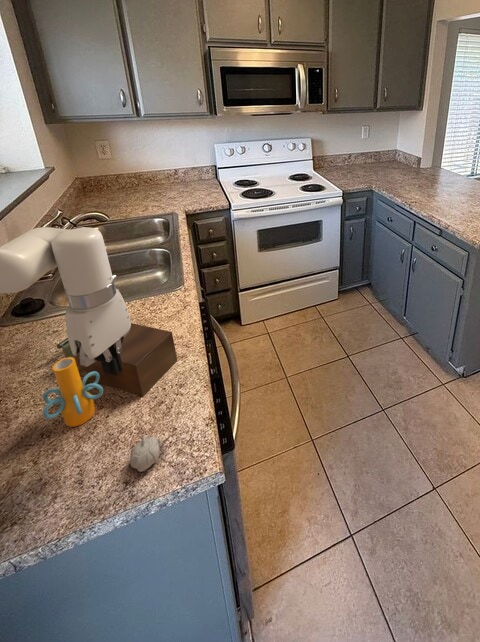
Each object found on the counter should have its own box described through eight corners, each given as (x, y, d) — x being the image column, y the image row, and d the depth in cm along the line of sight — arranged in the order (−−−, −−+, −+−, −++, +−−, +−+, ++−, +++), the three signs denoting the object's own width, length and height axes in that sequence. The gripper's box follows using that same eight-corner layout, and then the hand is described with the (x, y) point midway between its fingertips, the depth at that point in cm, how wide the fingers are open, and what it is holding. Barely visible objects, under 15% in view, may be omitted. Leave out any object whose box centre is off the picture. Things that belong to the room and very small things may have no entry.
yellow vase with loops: (117, 393, 88) (104, 343, 83) (100, 431, 78) (83, 378, 73) (63, 401, 86) (46, 350, 81) (38, 441, 76) (17, 386, 71)
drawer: (53, 366, 96) (45, 342, 93) (91, 339, 106) (84, 316, 103) (109, 382, 90) (102, 357, 88) (143, 351, 101) (138, 328, 98)
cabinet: (97, 383, 91) (88, 353, 88) (135, 350, 102) (128, 322, 99) (143, 396, 87) (135, 365, 84) (177, 360, 98) (172, 331, 95)
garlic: (143, 445, 75) (138, 427, 73) (167, 448, 74) (163, 429, 73) (125, 475, 69) (119, 456, 68) (151, 478, 69) (146, 458, 67)
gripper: (109, 271, 74) (127, 343, 80) (36, 314, 60) (65, 397, 66) (139, 276, 72) (155, 349, 78) (70, 321, 58) (97, 406, 64)
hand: (114, 371), depth 72 cm, fingers closed
